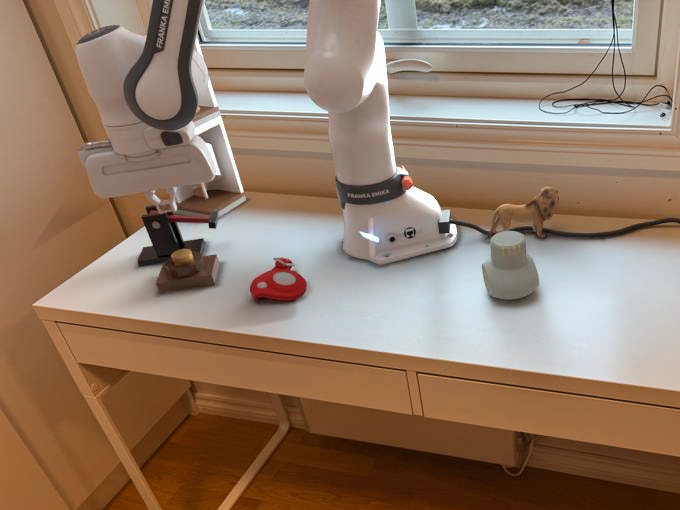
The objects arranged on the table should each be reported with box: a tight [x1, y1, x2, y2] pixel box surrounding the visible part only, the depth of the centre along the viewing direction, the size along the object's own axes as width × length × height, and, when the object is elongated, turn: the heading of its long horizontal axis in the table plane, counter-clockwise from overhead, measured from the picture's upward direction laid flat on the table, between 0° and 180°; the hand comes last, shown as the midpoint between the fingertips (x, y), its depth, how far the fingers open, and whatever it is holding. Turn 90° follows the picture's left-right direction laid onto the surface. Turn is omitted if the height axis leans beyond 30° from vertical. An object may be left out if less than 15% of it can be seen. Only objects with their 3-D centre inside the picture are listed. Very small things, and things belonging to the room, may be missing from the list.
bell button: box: [171, 249, 194, 266], centre depth 129 cm, size 4×4×2 cm
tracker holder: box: [249, 256, 308, 302], centre depth 125 cm, size 12×4×10 cm
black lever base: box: [136, 204, 206, 267], centre depth 137 cm, size 12×6×10 cm, turn 101°
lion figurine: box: [485, 185, 560, 240], centre depth 133 cm, size 15×5×9 cm, turn 103°
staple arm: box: [150, 210, 220, 230], centre depth 136 cm, size 12×5×2 cm, turn 101°
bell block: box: [155, 251, 221, 294], centre depth 130 cm, size 10×8×4 cm
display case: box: [144, 34, 247, 218], centre depth 146 cm, size 11×11×35 cm
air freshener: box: [481, 230, 540, 301], centre depth 117 cm, size 11×8×10 cm
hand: (168, 211), depth 124 cm, fingers closed
